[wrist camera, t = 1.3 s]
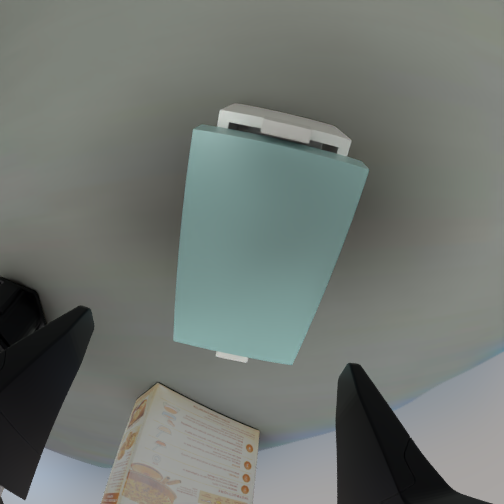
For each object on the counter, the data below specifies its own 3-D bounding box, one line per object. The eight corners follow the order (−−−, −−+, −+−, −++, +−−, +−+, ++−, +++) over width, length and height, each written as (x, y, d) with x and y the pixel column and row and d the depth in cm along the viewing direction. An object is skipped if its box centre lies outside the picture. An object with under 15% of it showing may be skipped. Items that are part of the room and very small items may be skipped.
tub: (279, 306, 25) (277, 368, 19) (204, 290, 24) (184, 349, 19) (334, 124, 17) (358, 143, 12) (235, 101, 17) (214, 109, 12)
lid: (291, 347, 20) (292, 365, 19) (179, 324, 20) (173, 340, 18) (361, 160, 13) (369, 169, 12) (201, 124, 13) (193, 128, 12)
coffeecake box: (134, 399, 35) (89, 533, 18) (157, 380, 32) (107, 540, 15) (229, 444, 39) (210, 565, 22) (261, 430, 36) (247, 570, 19)
